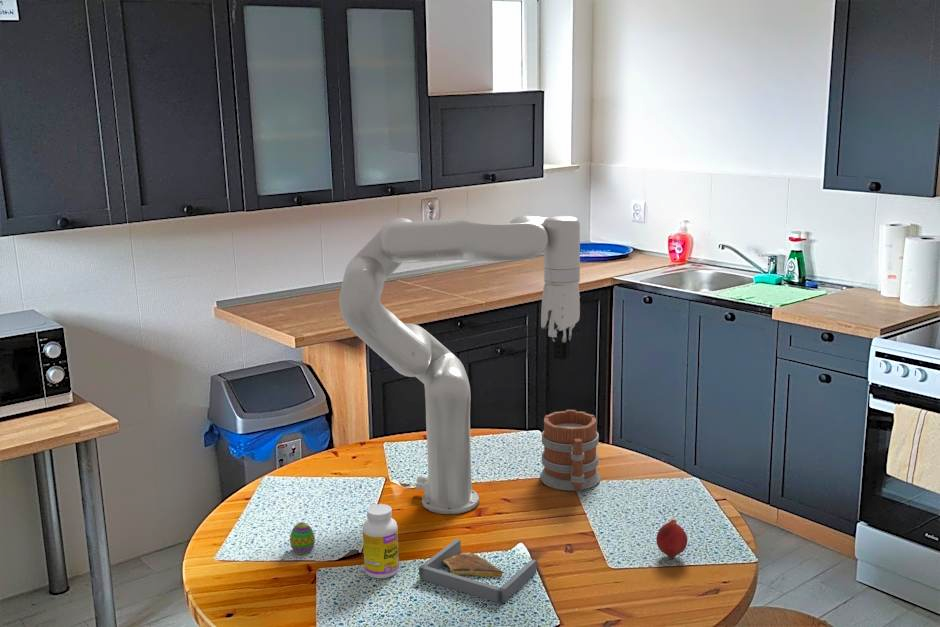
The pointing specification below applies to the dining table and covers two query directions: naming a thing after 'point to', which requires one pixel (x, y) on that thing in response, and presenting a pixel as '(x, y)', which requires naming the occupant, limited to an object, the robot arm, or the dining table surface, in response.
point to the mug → (570, 451)
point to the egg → (302, 538)
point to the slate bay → (470, 586)
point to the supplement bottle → (380, 542)
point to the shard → (471, 565)
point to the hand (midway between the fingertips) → (562, 358)
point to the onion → (671, 539)
